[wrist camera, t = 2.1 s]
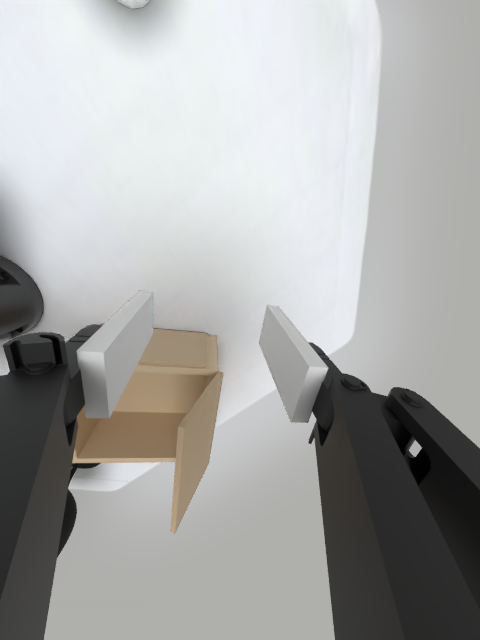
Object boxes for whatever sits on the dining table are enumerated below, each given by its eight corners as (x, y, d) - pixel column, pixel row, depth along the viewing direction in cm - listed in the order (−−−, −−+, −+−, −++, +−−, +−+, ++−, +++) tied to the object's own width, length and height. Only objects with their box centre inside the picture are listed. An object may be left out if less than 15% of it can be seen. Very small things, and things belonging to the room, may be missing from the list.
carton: (97, 413, 51) (66, 465, 40) (87, 321, 42) (44, 356, 31) (205, 416, 55) (204, 463, 44) (216, 333, 47) (218, 366, 36)
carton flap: (170, 530, 34) (175, 533, 33) (178, 426, 25) (184, 428, 25) (205, 461, 44) (208, 462, 44) (218, 371, 36) (223, 372, 36)
